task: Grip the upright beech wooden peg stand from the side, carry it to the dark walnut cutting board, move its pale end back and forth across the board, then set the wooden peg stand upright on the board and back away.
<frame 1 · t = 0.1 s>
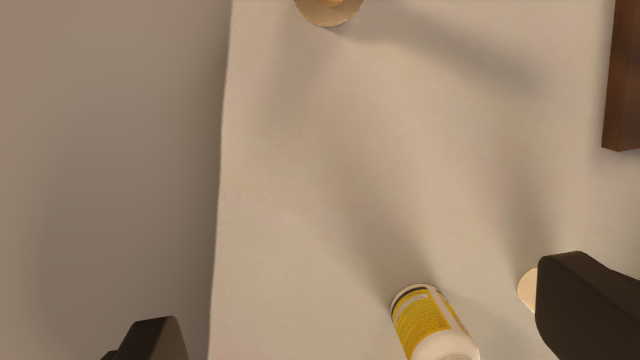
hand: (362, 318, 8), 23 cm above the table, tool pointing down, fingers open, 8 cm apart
tube: (537, 284, 37), on the table
supplement bottle: (416, 305, 36), on the table
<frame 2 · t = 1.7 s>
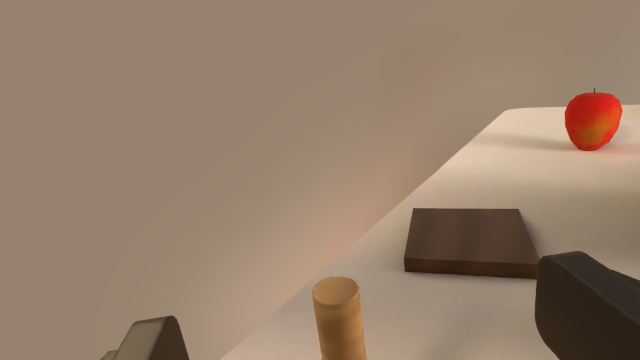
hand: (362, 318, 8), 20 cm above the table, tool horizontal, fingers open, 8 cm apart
apple: (588, 149, 77), on the table
board: (466, 243, 49), on the table
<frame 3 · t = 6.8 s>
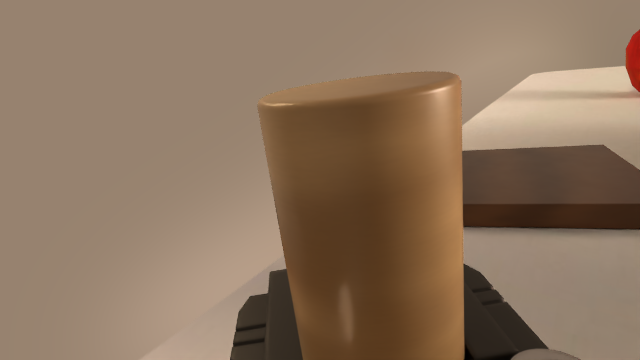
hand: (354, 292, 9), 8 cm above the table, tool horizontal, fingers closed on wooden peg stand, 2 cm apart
board: (534, 190, 32), on the table
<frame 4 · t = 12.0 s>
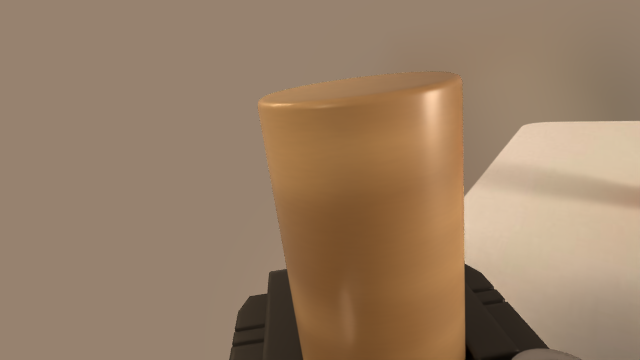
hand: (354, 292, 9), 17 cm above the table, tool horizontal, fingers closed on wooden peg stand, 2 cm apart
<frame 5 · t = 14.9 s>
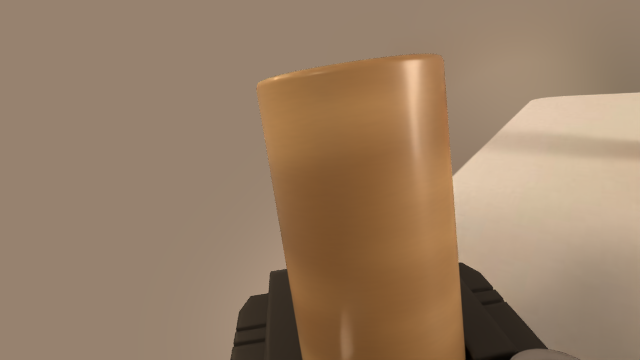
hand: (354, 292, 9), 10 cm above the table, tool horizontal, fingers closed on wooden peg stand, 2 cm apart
when the fingers open (9 cm above the table, at t = 17.5 s): wooden peg stand stays where it is, point 2 cm above the table.
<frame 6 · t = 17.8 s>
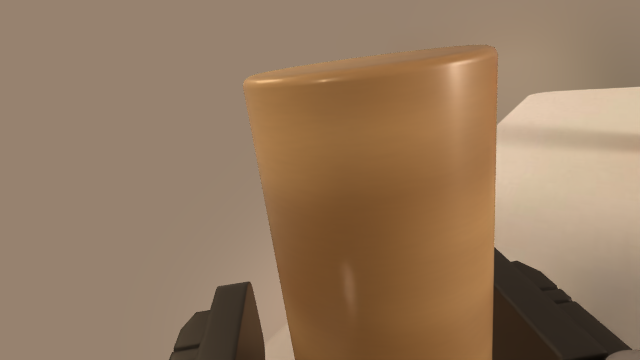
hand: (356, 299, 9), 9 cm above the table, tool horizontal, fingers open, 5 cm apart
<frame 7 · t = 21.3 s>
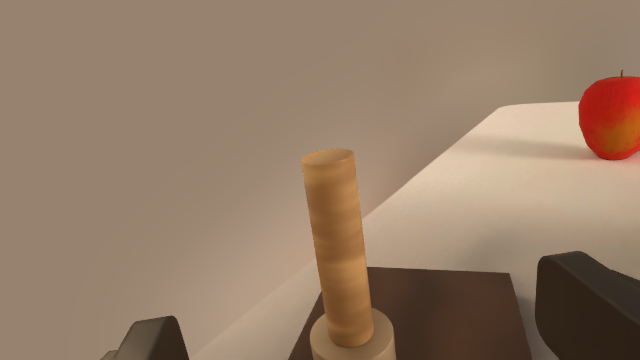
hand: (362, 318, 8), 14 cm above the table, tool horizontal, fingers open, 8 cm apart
apple: (613, 157, 54), on the table
board: (409, 348, 26), on the table
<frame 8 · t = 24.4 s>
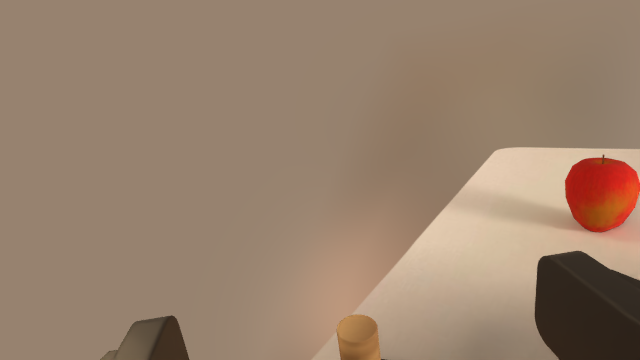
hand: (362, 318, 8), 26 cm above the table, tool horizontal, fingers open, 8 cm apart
apple: (596, 228, 60), on the table
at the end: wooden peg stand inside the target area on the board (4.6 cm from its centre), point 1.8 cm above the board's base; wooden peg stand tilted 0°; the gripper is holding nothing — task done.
